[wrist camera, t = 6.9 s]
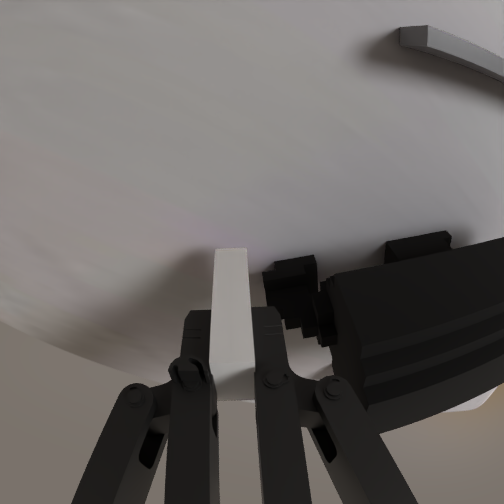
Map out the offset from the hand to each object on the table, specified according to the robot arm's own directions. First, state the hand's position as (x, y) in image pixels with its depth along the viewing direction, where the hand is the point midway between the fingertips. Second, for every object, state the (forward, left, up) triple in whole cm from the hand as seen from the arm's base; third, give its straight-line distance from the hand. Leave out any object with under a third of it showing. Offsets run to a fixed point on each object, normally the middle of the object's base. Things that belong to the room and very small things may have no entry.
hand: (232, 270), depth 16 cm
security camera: (+1, +11, -2) cm, 11 cm away
